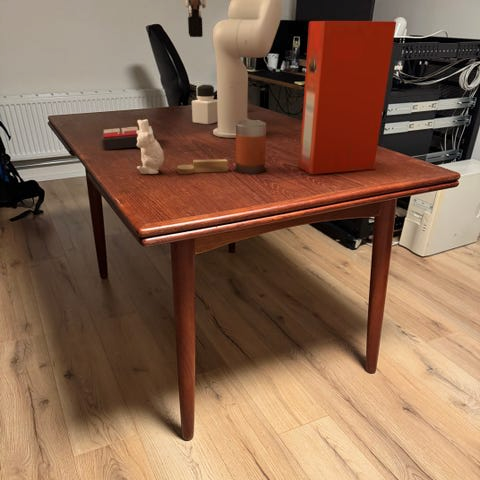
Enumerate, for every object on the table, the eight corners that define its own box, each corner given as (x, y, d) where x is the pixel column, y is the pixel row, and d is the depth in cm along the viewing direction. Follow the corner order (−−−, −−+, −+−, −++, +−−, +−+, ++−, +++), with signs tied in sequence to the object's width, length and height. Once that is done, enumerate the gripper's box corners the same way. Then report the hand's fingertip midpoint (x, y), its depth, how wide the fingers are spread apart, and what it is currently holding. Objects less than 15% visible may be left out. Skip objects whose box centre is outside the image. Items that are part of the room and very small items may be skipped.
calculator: (101, 128, 143) (152, 124, 145) (104, 143, 145) (154, 138, 148) (101, 136, 134) (154, 131, 136) (104, 152, 136) (157, 147, 139)
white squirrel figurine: (132, 169, 120) (127, 118, 113) (158, 166, 122) (154, 116, 116) (141, 178, 113) (135, 125, 107) (168, 175, 116) (164, 123, 109)
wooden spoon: (226, 168, 121) (226, 157, 120) (228, 173, 118) (228, 162, 116) (177, 169, 120) (176, 158, 119) (177, 174, 117) (176, 163, 115)
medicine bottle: (219, 121, 172) (219, 84, 166) (208, 124, 167) (207, 87, 160) (203, 119, 175) (202, 83, 169) (192, 122, 170) (190, 85, 164)
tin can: (256, 164, 124) (257, 118, 118) (269, 171, 119) (271, 124, 113) (230, 168, 122) (230, 121, 115) (243, 175, 116) (244, 127, 110)
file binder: (298, 166, 123) (309, 20, 106) (357, 161, 128) (377, 20, 110) (312, 175, 117) (325, 21, 99) (373, 169, 121) (397, 21, 104)
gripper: (210, -53, 104) (212, 37, 114) (206, -46, 119) (208, 34, 128) (176, -54, 104) (180, 37, 113) (176, -46, 118) (180, 34, 127)
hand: (195, 35), depth 120 cm, fingers open, 9 cm apart
